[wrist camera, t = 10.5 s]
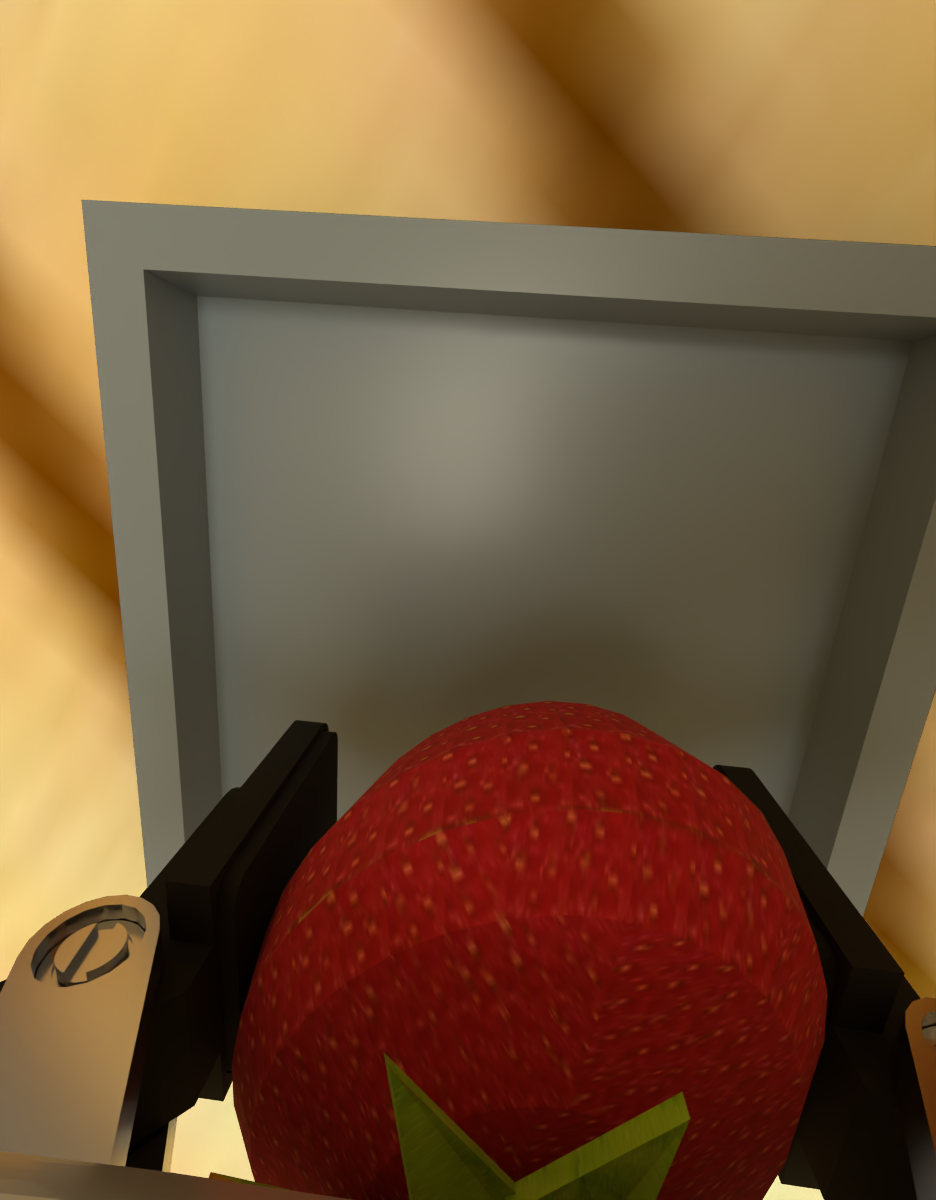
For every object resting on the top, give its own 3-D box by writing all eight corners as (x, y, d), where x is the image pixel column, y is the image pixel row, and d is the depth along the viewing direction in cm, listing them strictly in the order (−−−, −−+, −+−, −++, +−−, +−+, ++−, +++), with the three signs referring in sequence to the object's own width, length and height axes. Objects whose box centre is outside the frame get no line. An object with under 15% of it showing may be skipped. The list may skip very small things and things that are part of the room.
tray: (951, 297, 11) (1076, 253, 9) (744, 1052, 16) (785, 1158, 14) (169, 250, 12) (81, 199, 9) (213, 983, 17) (165, 1071, 15)
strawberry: (738, 711, 11) (2043, 2225, 2) (508, 934, 13) (497, 2238, 4) (510, 534, 11) (483, 1281, 1) (304, 794, 13) (-365, 1902, 3)
